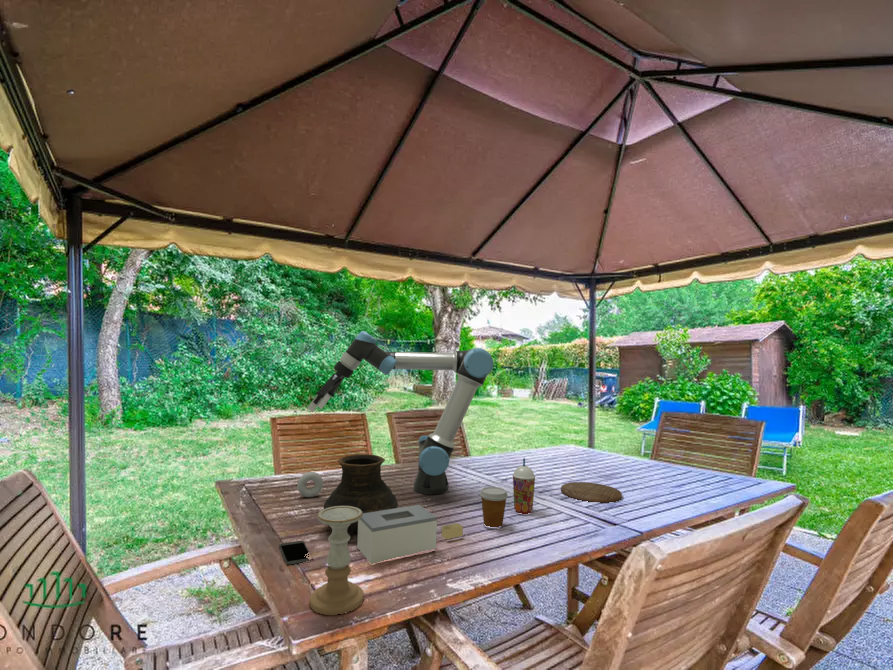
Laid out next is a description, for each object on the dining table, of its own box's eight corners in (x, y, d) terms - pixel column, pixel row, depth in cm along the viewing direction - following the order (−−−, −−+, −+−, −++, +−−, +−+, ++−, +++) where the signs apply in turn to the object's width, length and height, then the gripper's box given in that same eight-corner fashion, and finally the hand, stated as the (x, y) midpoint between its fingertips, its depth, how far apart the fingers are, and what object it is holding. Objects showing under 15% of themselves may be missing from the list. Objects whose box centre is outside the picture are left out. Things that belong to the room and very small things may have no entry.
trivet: (615, 508, 174) (615, 503, 174) (553, 496, 188) (553, 491, 188) (626, 492, 196) (626, 488, 196) (570, 483, 209) (570, 479, 209)
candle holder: (297, 608, 100) (301, 517, 101) (330, 583, 111) (333, 501, 112) (344, 621, 95) (347, 526, 96) (373, 593, 107) (376, 508, 108)
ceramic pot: (308, 528, 145) (310, 459, 147) (364, 510, 164) (366, 448, 165) (355, 550, 130) (358, 472, 132) (411, 527, 149) (413, 459, 150)
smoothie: (507, 512, 166) (508, 458, 167) (520, 507, 172) (520, 455, 173) (526, 518, 160) (527, 462, 161) (538, 512, 166) (539, 458, 167)
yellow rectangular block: (457, 535, 143) (458, 523, 143) (462, 539, 141) (462, 526, 141) (441, 539, 140) (441, 526, 140) (446, 542, 138) (446, 529, 138)
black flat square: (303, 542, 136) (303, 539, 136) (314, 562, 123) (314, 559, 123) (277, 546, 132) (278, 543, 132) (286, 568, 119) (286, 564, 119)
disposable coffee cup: (489, 533, 145) (489, 496, 146) (474, 523, 154) (474, 488, 154) (512, 528, 150) (513, 492, 150) (496, 519, 158) (497, 485, 159)
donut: (322, 494, 181) (323, 470, 181) (323, 497, 177) (324, 472, 178) (296, 496, 177) (297, 471, 178) (296, 499, 174) (297, 473, 175)
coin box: (418, 536, 141) (419, 504, 142) (435, 551, 131) (436, 517, 131) (357, 548, 131) (358, 514, 132) (371, 565, 121) (372, 528, 121)
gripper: (345, 360, 191) (315, 401, 189) (332, 359, 166) (297, 405, 165) (359, 370, 191) (329, 411, 189) (348, 371, 166) (314, 417, 164)
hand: (314, 408), depth 177 cm, fingers open, 13 cm apart
